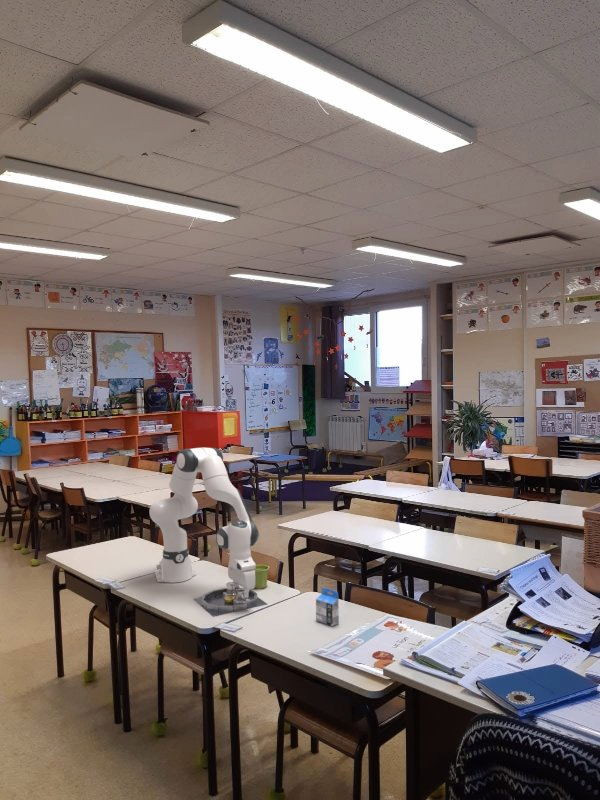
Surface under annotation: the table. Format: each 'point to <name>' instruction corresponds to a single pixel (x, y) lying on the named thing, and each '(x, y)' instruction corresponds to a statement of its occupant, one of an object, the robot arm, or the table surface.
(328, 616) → the label tape box
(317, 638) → the table surface
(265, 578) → the plant pot
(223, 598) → the carrier
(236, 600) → the planet gear
